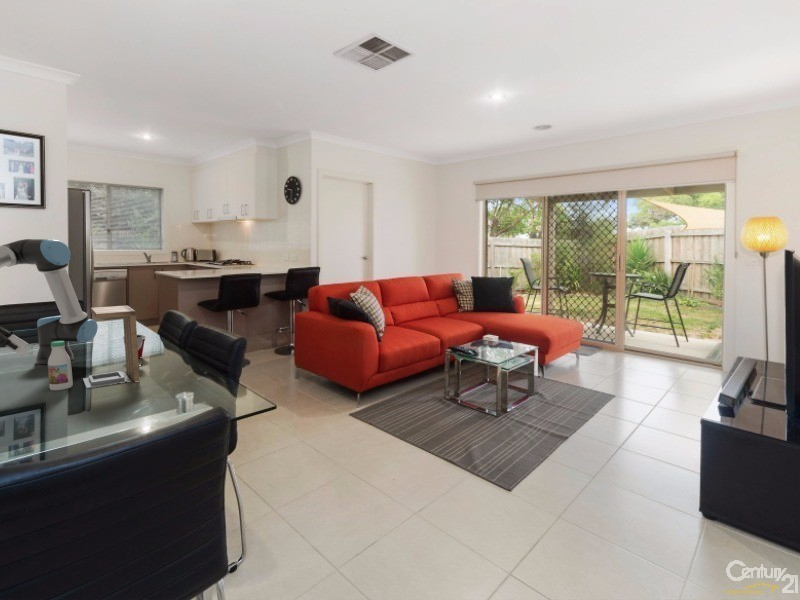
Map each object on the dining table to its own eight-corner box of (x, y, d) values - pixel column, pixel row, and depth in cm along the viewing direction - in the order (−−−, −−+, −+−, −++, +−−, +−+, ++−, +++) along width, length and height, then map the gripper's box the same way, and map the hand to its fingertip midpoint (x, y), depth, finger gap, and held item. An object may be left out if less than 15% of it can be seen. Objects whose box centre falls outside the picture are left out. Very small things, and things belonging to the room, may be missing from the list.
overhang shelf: (96, 376, 198) (91, 307, 194) (131, 371, 207) (127, 305, 203) (101, 388, 183) (96, 313, 179) (139, 381, 192) (135, 310, 188)
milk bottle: (58, 385, 186) (54, 339, 183) (77, 384, 186) (73, 339, 184) (45, 391, 178) (41, 343, 176) (64, 390, 179) (61, 343, 176)
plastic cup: (136, 361, 224) (135, 339, 222) (118, 360, 226) (117, 337, 224) (152, 356, 234) (151, 334, 233) (135, 355, 236) (134, 333, 235)
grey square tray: (83, 379, 193) (82, 375, 193) (124, 373, 204) (124, 369, 204) (86, 389, 181) (86, 384, 181) (130, 381, 192) (130, 377, 192)
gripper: (-37, 319, 170) (18, 350, 181) (-45, 329, 151) (16, 364, 162) (-19, 304, 172) (33, 337, 184) (-25, 312, 154) (34, 348, 165)
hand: (25, 349), depth 173 cm, fingers open, 13 cm apart
